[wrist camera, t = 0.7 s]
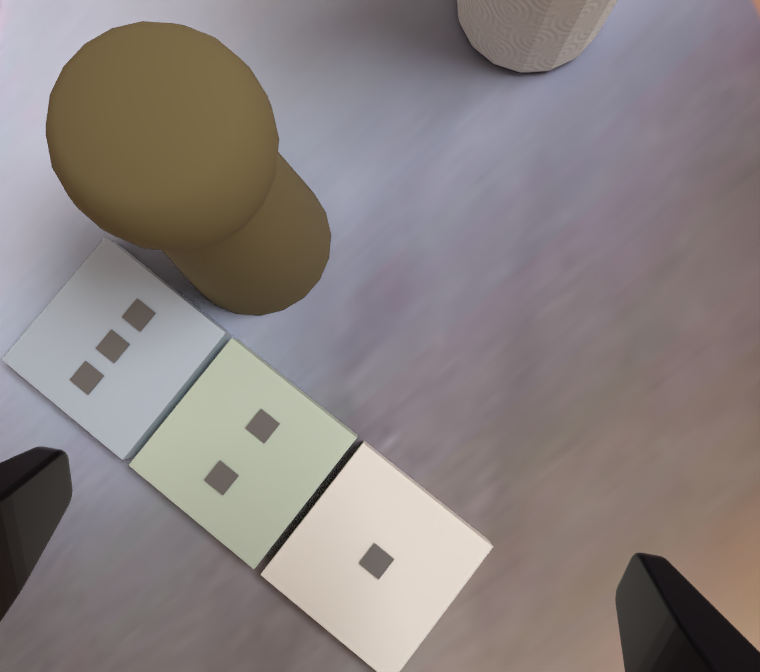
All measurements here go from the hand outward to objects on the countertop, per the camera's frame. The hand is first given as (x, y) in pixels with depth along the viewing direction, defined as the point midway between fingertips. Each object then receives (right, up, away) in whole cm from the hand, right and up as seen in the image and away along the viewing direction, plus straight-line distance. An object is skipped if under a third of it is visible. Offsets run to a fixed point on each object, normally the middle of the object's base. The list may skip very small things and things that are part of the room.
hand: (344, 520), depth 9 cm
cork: (-4, +7, +14) cm, 16 cm away
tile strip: (-4, -1, +13) cm, 14 cm away
